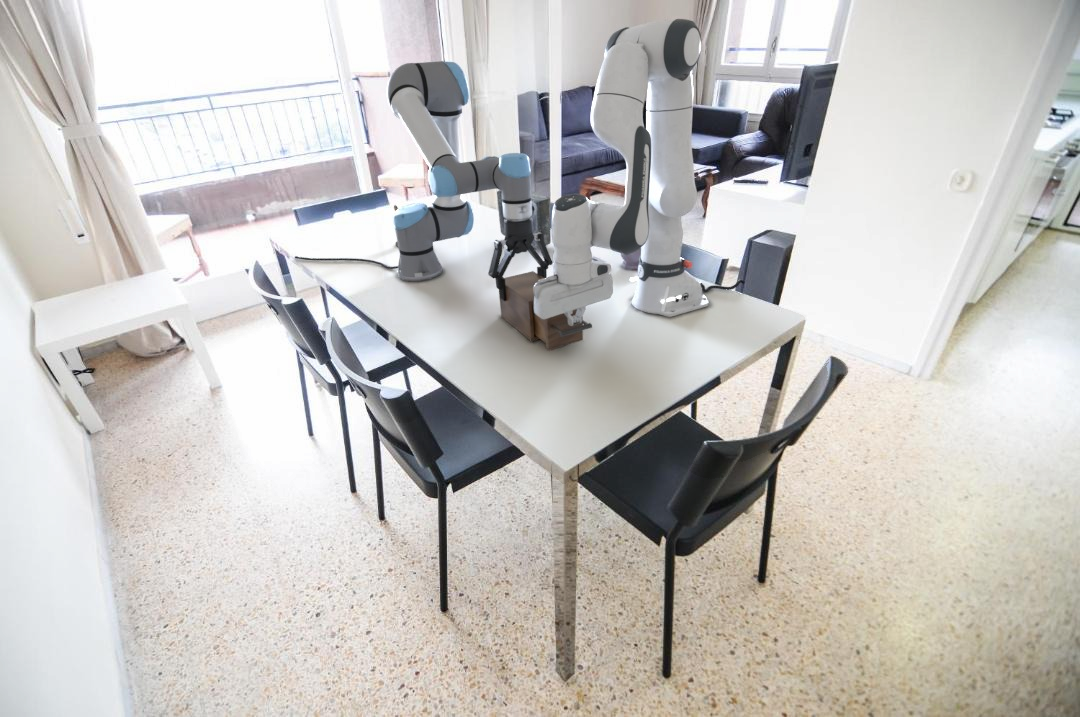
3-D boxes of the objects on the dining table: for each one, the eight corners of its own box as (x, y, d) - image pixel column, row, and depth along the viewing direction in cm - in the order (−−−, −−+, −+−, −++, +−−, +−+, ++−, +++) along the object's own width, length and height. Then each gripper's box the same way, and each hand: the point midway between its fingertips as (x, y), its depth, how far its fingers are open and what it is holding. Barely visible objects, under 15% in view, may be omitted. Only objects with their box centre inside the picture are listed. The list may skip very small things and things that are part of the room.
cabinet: (568, 330, 135) (567, 291, 129) (531, 341, 130) (528, 301, 125) (535, 307, 150) (533, 271, 144) (501, 316, 145) (497, 279, 140)
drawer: (594, 348, 123) (594, 313, 119) (559, 359, 119) (558, 324, 115) (549, 315, 142) (547, 284, 137) (517, 324, 138) (514, 292, 133)
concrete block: (555, 250, 192) (555, 197, 181) (537, 255, 188) (535, 201, 177) (517, 234, 210) (514, 185, 200) (499, 238, 206) (496, 189, 196)
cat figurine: (648, 265, 175) (651, 232, 169) (635, 272, 170) (638, 238, 164) (628, 260, 180) (630, 227, 174) (615, 266, 175) (616, 233, 169)
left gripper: (481, 228, 122) (489, 308, 134) (564, 213, 132) (565, 289, 143) (470, 221, 128) (479, 299, 139) (550, 207, 137) (552, 281, 149)
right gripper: (540, 286, 106) (544, 341, 114) (617, 263, 114) (616, 317, 121) (526, 277, 111) (530, 331, 118) (601, 256, 119) (601, 307, 126)
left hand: (522, 294), depth 141 cm, fingers closed on cabinet, 11 cm apart
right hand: (574, 323), depth 120 cm, fingers closed
